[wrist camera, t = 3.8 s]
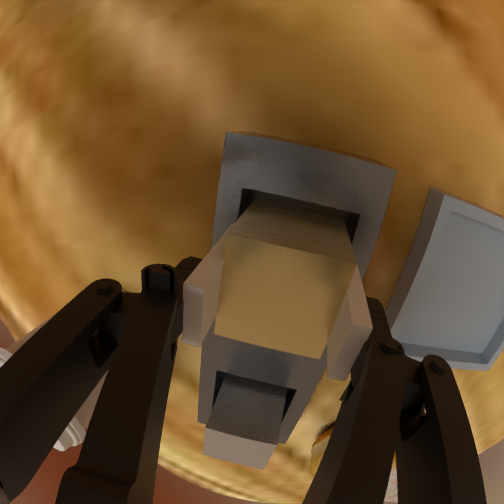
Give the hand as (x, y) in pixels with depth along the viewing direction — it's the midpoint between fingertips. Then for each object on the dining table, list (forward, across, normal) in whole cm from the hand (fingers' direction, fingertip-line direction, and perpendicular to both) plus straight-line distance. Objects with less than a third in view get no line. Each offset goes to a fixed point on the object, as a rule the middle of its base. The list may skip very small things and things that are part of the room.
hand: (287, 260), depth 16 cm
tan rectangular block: (+4, 0, 0) cm, 4 cm away
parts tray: (+5, +15, -1) cm, 16 cm away
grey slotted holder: (+5, 0, -7) cm, 9 cm away
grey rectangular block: (+4, 0, -14) cm, 15 cm away
